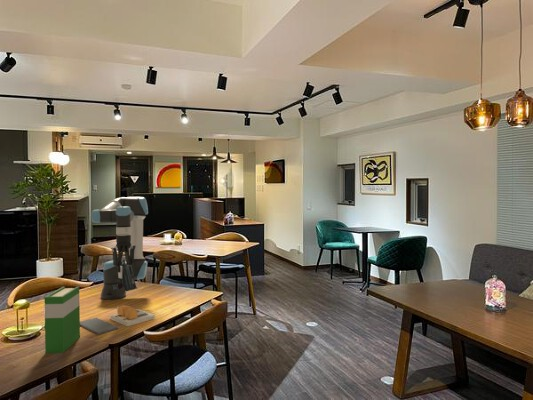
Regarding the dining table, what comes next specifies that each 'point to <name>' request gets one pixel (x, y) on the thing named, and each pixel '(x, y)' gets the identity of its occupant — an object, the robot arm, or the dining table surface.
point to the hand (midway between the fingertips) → (123, 277)
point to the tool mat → (97, 325)
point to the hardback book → (62, 319)
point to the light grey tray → (140, 318)
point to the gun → (126, 279)
